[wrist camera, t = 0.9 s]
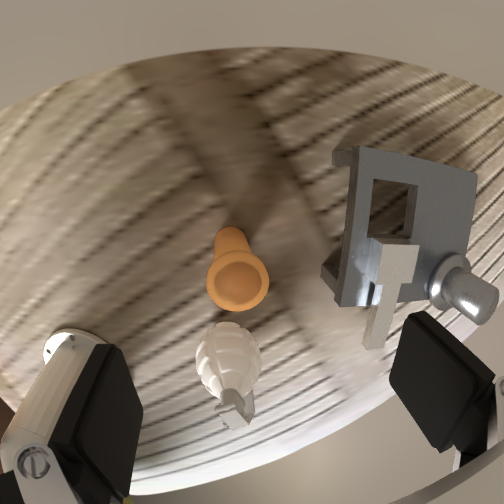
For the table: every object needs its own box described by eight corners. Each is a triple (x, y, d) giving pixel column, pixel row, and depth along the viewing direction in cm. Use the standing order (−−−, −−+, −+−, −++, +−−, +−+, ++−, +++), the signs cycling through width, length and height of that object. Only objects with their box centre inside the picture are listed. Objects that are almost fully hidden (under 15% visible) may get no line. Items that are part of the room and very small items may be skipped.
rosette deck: (423, 302, 35) (483, 352, 22) (312, 311, 33) (358, 387, 20) (447, 170, 29) (527, 185, 17) (330, 147, 27) (407, 144, 15)
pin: (250, 262, 30) (266, 310, 20) (208, 262, 29) (206, 311, 20) (252, 222, 29) (271, 254, 19) (209, 221, 28) (206, 253, 19)
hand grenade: (267, 349, 33) (291, 434, 21) (218, 368, 34) (223, 455, 21) (240, 298, 31) (256, 381, 19) (187, 320, 31) (176, 408, 19)
